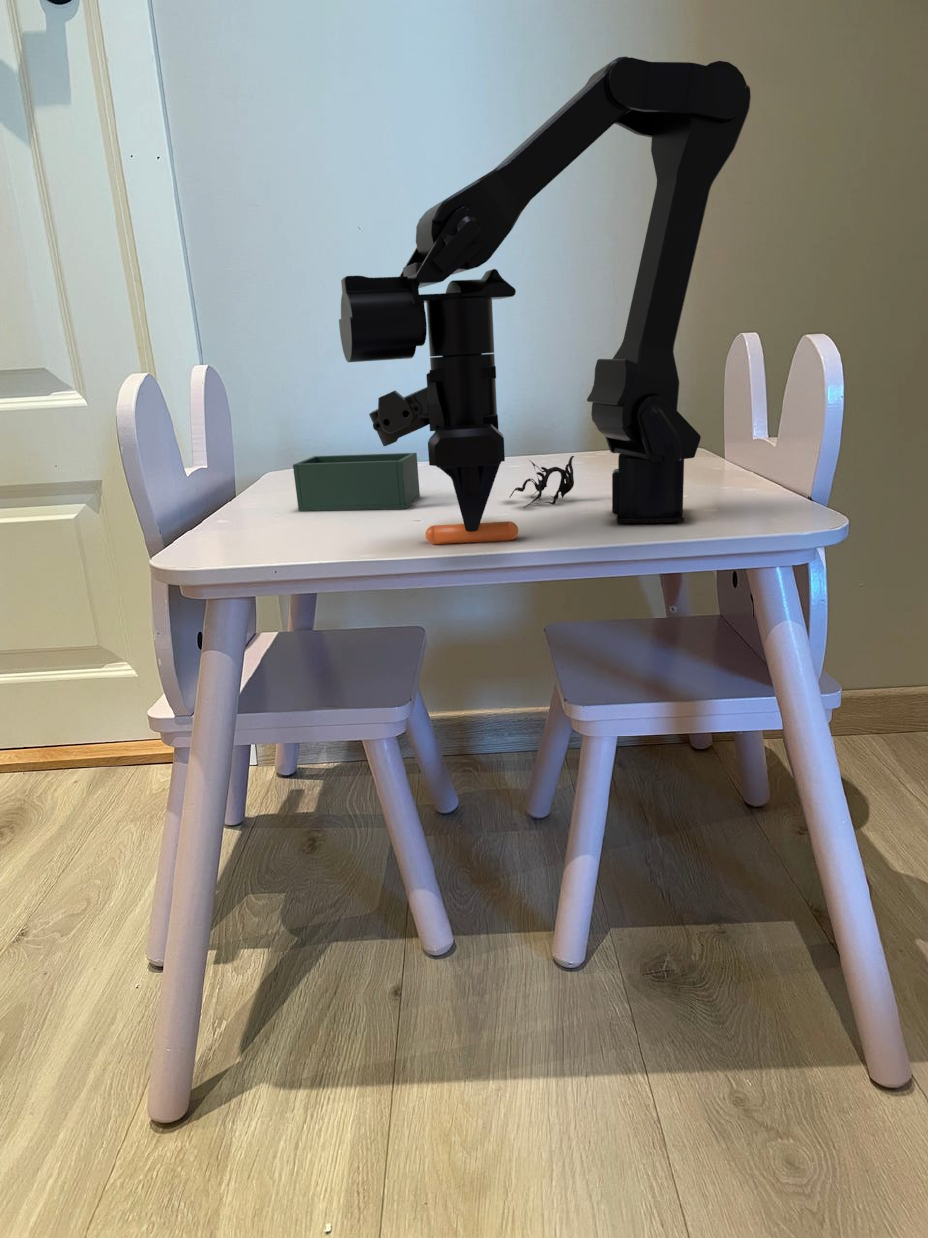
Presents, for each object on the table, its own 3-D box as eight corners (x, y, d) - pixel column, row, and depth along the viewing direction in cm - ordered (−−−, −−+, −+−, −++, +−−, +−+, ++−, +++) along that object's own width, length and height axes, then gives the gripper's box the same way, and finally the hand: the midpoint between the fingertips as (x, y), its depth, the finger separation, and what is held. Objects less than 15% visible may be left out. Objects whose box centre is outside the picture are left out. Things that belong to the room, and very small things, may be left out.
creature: (508, 519, 92) (578, 502, 90) (495, 472, 90) (566, 453, 88) (518, 505, 99) (583, 488, 97) (506, 461, 98) (572, 443, 95)
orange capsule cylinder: (518, 532, 79) (517, 516, 78) (519, 543, 78) (518, 528, 77) (426, 537, 79) (424, 521, 78) (426, 548, 78) (424, 533, 77)
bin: (420, 497, 101) (416, 452, 100) (405, 509, 95) (401, 461, 93) (318, 500, 104) (313, 456, 102) (298, 511, 98) (292, 464, 96)
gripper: (382, 359, 82) (395, 514, 87) (357, 363, 64) (375, 557, 69) (494, 352, 82) (500, 508, 87) (500, 354, 64) (508, 550, 69)
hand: (471, 528), depth 78 cm, fingers closed on orange capsule cylinder, 1 cm apart
